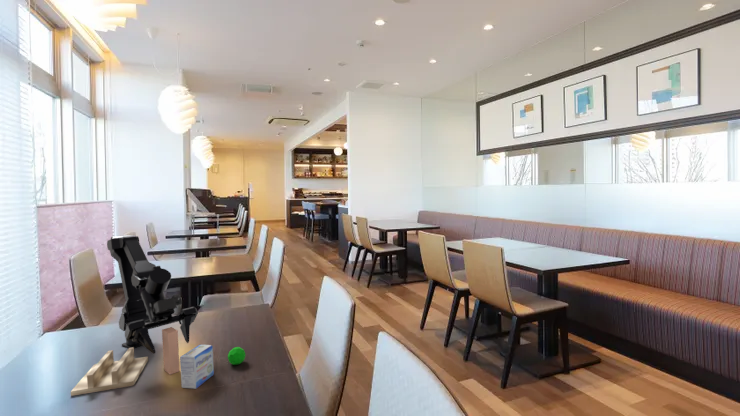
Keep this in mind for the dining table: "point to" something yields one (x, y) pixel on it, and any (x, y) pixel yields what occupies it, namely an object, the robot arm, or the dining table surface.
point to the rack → (111, 373)
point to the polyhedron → (236, 356)
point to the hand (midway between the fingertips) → (171, 347)
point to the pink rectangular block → (170, 350)
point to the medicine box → (196, 366)
